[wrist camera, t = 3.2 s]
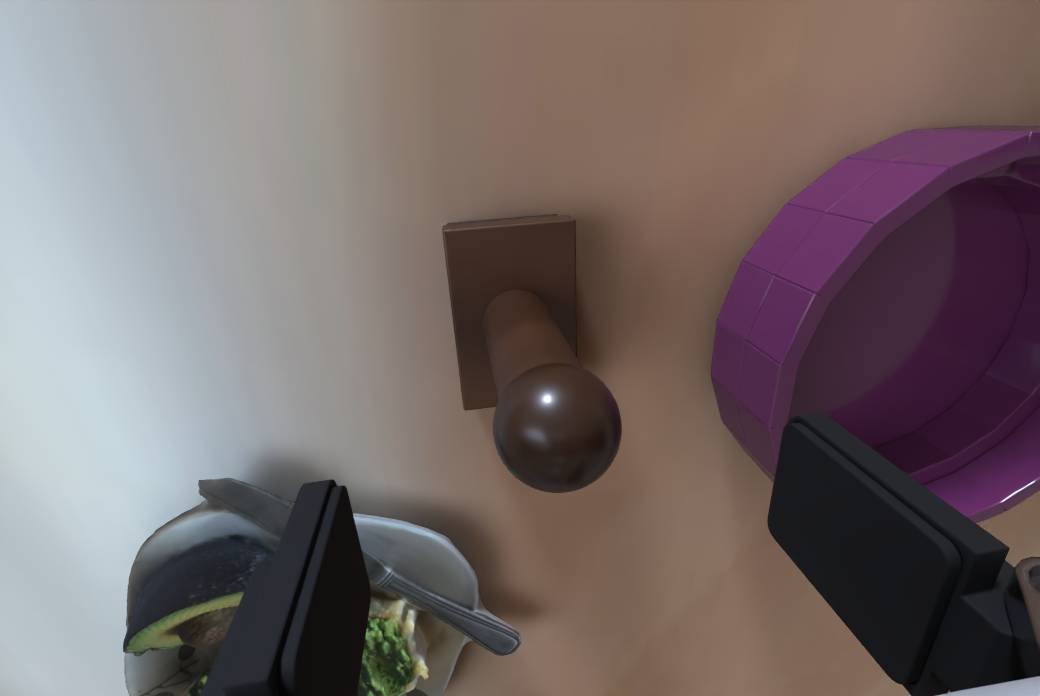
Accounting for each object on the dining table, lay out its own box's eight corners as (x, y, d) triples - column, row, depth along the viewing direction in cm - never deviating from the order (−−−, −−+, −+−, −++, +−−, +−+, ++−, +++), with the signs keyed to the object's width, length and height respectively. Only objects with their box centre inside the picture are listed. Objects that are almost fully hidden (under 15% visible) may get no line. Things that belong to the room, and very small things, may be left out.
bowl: (725, 141, 20) (817, 146, 15) (1103, 115, 22) (1294, 112, 17) (689, 488, 28) (744, 569, 23) (977, 446, 29) (1086, 512, 24)
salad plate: (563, 509, 27) (586, 580, 23) (468, 721, 33) (471, 808, 29) (155, 437, 22) (88, 511, 18) (131, 702, 28) (77, 803, 24)
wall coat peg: (442, 218, 20) (442, 321, 9) (560, 208, 20) (688, 296, 10) (461, 383, 23) (478, 600, 12) (564, 371, 23) (665, 569, 13)
